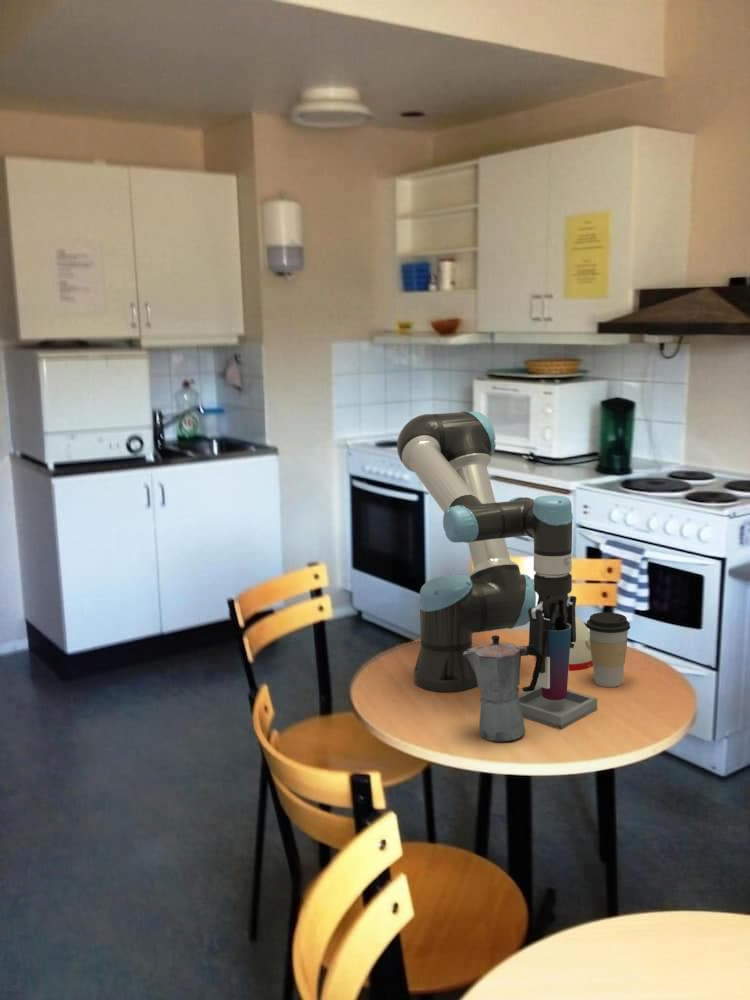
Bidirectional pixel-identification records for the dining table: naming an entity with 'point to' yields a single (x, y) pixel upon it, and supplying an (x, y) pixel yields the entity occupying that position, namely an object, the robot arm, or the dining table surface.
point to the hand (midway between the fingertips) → (552, 681)
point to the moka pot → (501, 687)
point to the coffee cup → (608, 647)
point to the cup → (558, 663)
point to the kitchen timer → (580, 648)
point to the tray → (556, 707)
